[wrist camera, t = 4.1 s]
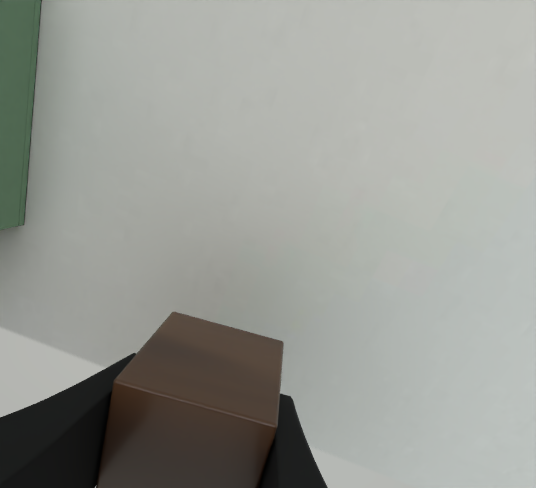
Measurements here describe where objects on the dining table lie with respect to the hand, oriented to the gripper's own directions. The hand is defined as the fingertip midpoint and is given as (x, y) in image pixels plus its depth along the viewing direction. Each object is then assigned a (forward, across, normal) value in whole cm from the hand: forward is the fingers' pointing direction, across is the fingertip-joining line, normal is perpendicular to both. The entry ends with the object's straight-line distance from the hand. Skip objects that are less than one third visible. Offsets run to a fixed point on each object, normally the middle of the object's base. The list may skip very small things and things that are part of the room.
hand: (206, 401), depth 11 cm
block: (+1, 0, 0) cm, 1 cm away
